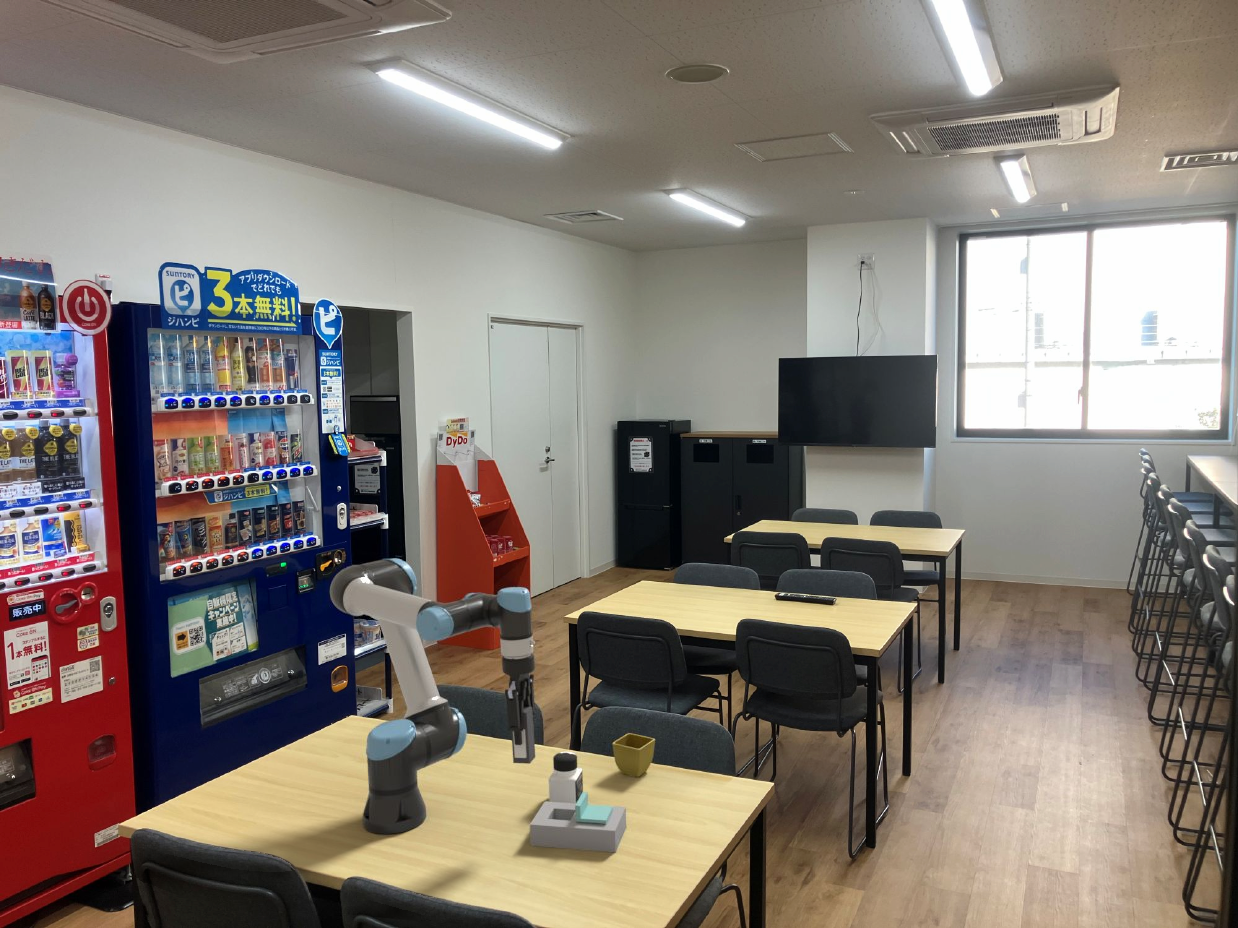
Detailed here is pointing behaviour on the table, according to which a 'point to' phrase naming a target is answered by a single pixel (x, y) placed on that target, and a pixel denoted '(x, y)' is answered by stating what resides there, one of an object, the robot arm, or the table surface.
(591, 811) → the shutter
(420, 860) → the table surface
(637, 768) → the flower pot
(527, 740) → the plug
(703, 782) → the table surface
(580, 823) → the socket
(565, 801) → the medicine bottle
